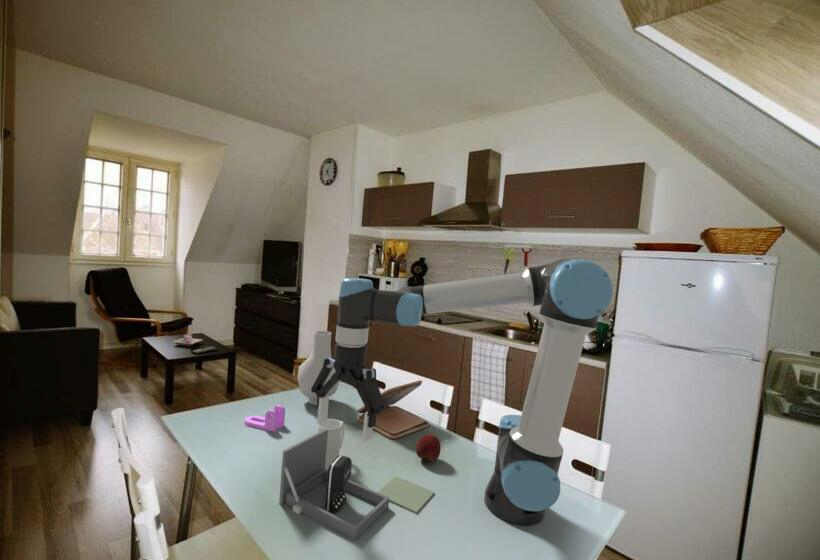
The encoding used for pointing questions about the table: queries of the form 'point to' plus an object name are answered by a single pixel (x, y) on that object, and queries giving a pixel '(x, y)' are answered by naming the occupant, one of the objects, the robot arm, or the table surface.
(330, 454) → the mug
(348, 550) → the table surface
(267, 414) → the bracket
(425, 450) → the apple
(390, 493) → the mat
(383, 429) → the case
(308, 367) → the vase
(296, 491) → the case
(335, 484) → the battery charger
